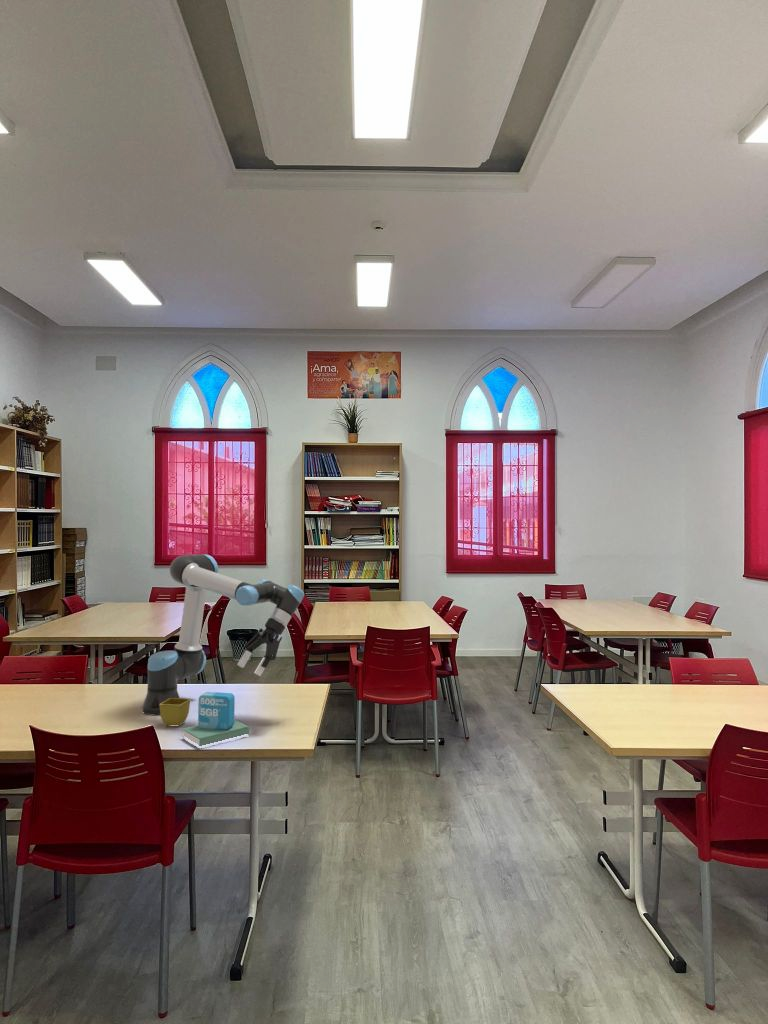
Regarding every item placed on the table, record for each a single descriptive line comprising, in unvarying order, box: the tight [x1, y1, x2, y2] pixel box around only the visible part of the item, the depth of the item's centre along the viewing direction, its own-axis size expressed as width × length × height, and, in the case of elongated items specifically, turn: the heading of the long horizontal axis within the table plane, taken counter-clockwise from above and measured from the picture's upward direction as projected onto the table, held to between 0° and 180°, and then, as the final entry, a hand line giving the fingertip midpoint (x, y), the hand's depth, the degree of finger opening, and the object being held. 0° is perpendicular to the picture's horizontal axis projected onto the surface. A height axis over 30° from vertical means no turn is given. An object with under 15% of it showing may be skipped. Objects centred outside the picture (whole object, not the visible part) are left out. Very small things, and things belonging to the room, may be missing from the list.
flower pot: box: [159, 698, 191, 726], centre depth 233 cm, size 9×9×9 cm
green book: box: [182, 719, 250, 746], centre depth 218 cm, size 14×19×4 cm
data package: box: [197, 691, 235, 730], centre depth 219 cm, size 12×4×12 cm, turn 79°
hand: (248, 670), depth 231 cm, fingers open, 13 cm apart
